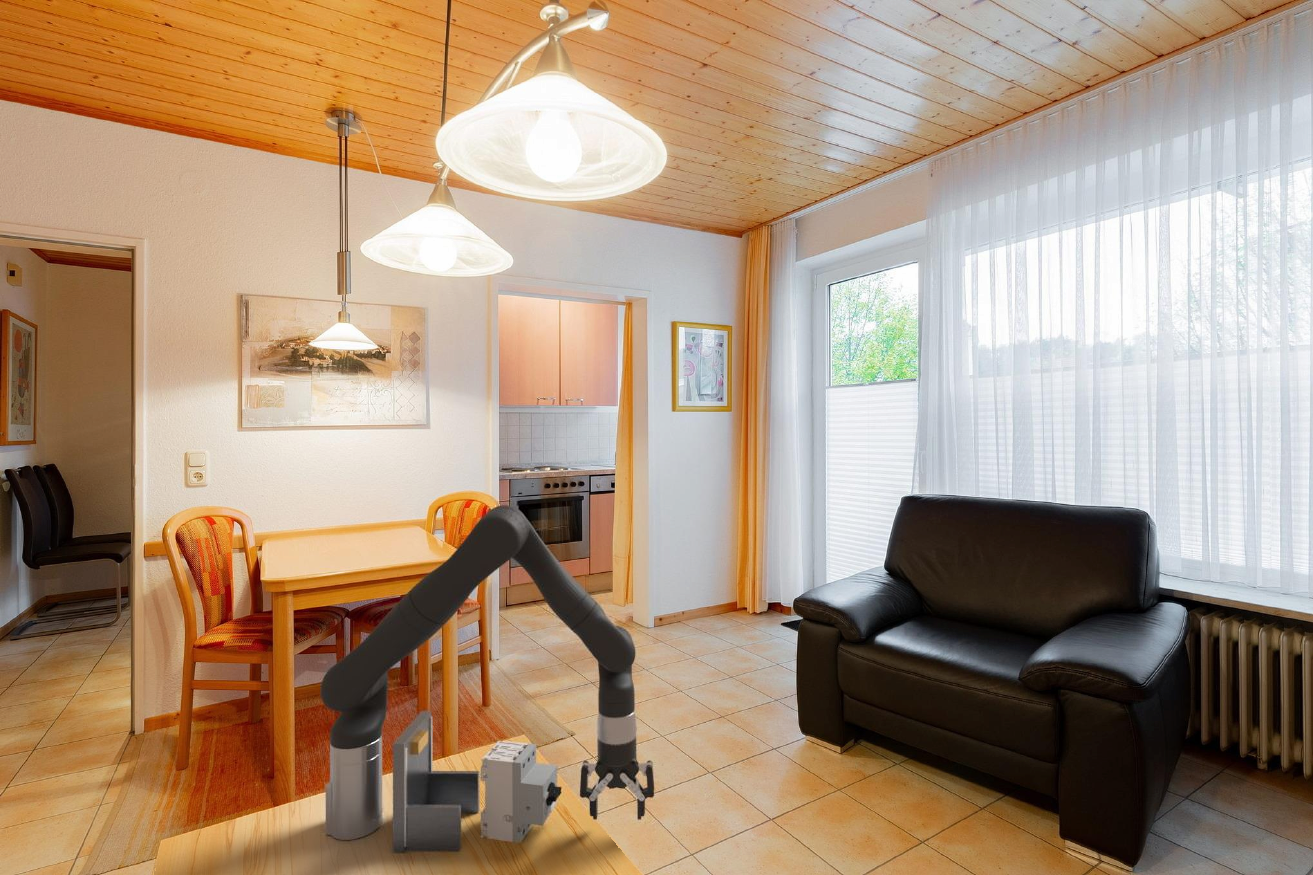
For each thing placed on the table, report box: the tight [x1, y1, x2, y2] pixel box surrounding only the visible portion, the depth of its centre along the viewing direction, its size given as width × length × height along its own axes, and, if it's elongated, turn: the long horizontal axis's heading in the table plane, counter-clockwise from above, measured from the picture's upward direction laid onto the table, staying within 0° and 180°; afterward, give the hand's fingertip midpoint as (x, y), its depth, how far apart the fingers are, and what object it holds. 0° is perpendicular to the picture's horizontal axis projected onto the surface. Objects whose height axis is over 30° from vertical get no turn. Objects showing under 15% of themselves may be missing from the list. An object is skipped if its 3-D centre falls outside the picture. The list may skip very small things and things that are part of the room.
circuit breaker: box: [480, 740, 562, 843], centre depth 124 cm, size 8×14×15 cm, turn 78°
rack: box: [392, 710, 480, 854], centre depth 124 cm, size 12×14×20 cm
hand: (617, 817), depth 124 cm, fingers open, 8 cm apart
